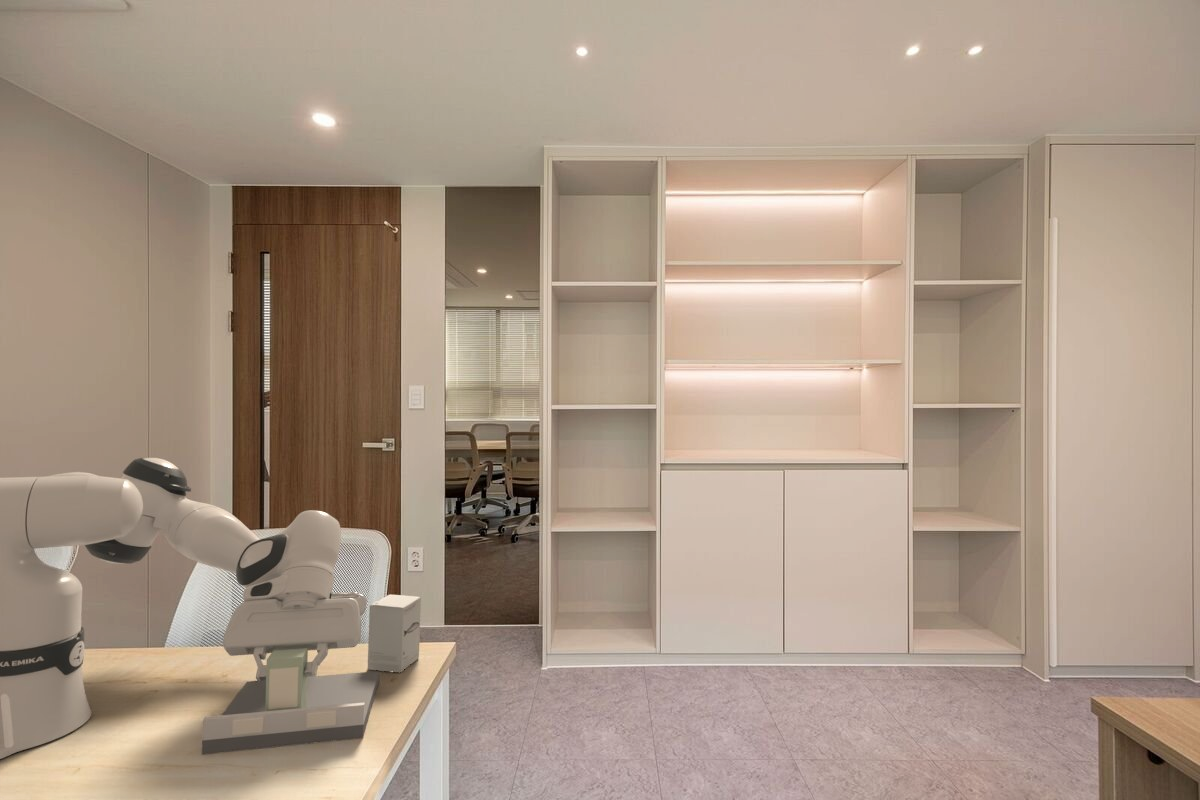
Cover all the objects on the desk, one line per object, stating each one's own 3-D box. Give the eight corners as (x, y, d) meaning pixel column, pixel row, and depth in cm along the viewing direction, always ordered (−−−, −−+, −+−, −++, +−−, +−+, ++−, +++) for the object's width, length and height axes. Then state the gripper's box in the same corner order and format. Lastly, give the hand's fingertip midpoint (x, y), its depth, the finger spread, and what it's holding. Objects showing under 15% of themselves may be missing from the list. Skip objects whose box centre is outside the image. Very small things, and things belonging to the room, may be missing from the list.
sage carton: (264, 726, 90) (266, 660, 91) (271, 713, 94) (273, 650, 94) (300, 722, 92) (302, 657, 92) (306, 710, 95) (307, 648, 95)
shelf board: (200, 755, 86) (201, 720, 86) (246, 692, 105) (247, 664, 105) (362, 738, 91) (363, 705, 91) (378, 681, 110) (379, 654, 110)
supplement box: (401, 674, 113) (402, 607, 114) (366, 670, 115) (368, 604, 115) (420, 658, 121) (422, 596, 121) (387, 654, 122) (388, 593, 122)
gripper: (369, 600, 107) (359, 679, 97) (242, 607, 102) (218, 690, 92) (366, 582, 102) (355, 663, 93) (234, 588, 98) (208, 674, 88)
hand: (286, 677), depth 93 cm, fingers open, 5 cm apart
